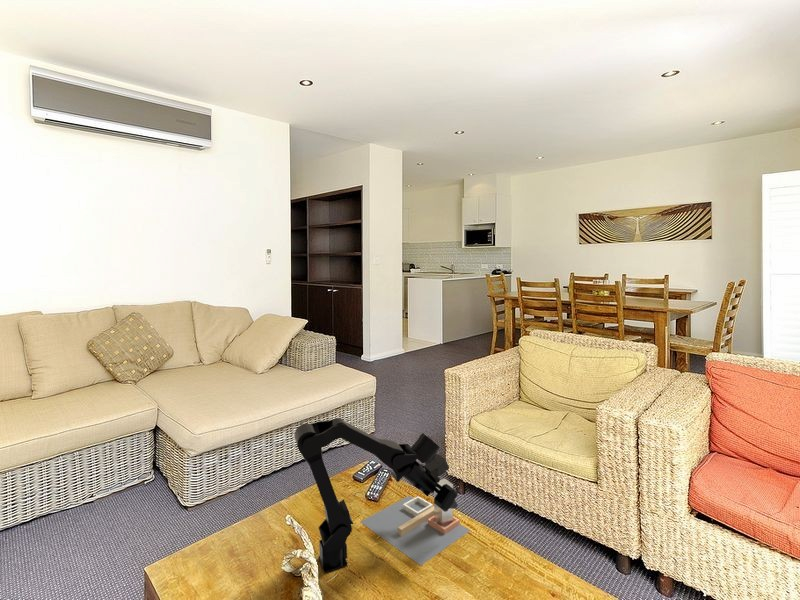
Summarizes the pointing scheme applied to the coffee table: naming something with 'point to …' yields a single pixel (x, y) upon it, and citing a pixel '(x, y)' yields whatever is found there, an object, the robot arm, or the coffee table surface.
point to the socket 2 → (442, 529)
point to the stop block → (439, 514)
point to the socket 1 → (417, 499)
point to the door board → (412, 531)
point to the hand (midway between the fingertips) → (447, 499)
